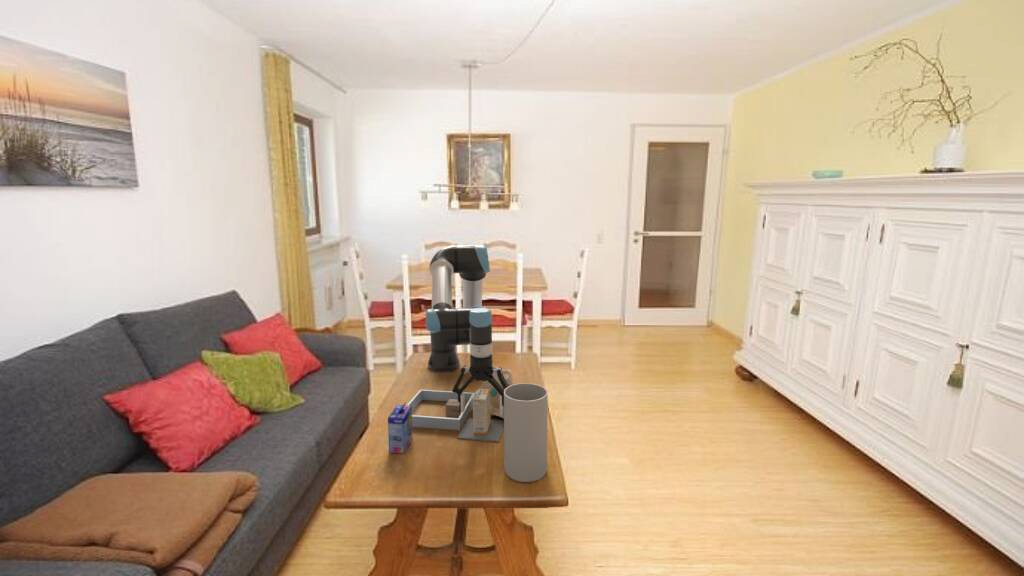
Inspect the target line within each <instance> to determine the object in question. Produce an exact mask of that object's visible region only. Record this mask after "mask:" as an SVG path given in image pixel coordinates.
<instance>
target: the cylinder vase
mask: <svg viewBox="0 0 1024 576" xmlns="http://www.w3.org/2000/svg"><path fill="white" fill-rule="evenodd" d="M548 393H549V392H548V389H547V388H545V387H544V386H543V385H539V384H536V383H529V382H528V383H525V382H523V383H522V382H521V383H515V384H514V383H513V385H511V386H509V387H507V388H506V389H505V390H504V418H503V421H504V428H503V435H504V437H503V439H504V440H503V441H504V442H503V443H504V445H503V446H504V447H503V448H504V452H503V453H504V455H503V456H504V461H503V462H504V463H503V464H504V465H503V466H504V473H505V474H506V476H507V477H508V478H509V479H511V480H513V481H516V482H519V483H532V482H537V481H539V480H541V479H543V477H544V476H545V475H546V473H547V470H548V462H547V461H548V402H549V401H548V398H549V397H548Z"/></svg>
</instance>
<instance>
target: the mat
mask: <svg viewBox="0 0 1024 576" xmlns="http://www.w3.org/2000/svg"><path fill="white" fill-rule="evenodd" d="M490 420H491V423H490V426H489V429H488V432H487V434H474V430H473V417H472V418H471V417H467V419H466V420H465V422H464V424H463V426H462V428H461V430H460V432H459V433H458V434H459V435H458V436H457V440H466V441H467V440H468V441H469V440H470V441H478V442H479V441H481V442H482V441H483V442H494V443H495V442H496V443H499V441H500V439H501V436H502V434H503V432H504V420H498V419H497V420H496V419H490Z"/></svg>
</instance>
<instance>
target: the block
mask: <svg viewBox="0 0 1024 576" xmlns="http://www.w3.org/2000/svg"><path fill="white" fill-rule="evenodd" d="M460 415H461V403H459V402H458V400H456V399H449V401H446V403H445V418H459V416H460Z"/></svg>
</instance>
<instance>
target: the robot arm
mask: <svg viewBox="0 0 1024 576" xmlns="http://www.w3.org/2000/svg"><path fill="white" fill-rule="evenodd" d="M490 271H491V269H490V261H489V253H488V249H487V247H486V245H482V244H481V245H480V244H474V245H466V244H465V245H464V244H463V245H454V244H453V245H448V246H445V247H443V248H441V249H440V250H438V251H437V252H436V253H435V254H433V257H432V258H431V260H430V263H429V273H430V276H431V309H427V310H426V311H425V327H426V330H427V331H429V333H430V353H429V357H428V358H429V359H428V361H427V368H428V369H429V370H431V371H433V372H438V373H440V372H441V373H445V372H451V371H455V370H457V369H459V368H460V366H461V365H460V364H461V363H460V359H459V356H458V353H457V350H456V349H457V347H456V346H469V354H470V355H469V363H470V365H469V367H468V366H466V365H465V364H464V365H462V367H461V369H460V374H459V376H458V378H457V380H456V382H455V384H454V386H453V388H452V390H451V391H452V392H454V393H457V394H458V402H459V403H461V413H463V412H464V410H465V406H466V403H465V392H466V391H465V389H467V387H468V386H470V384H471V383H473V381H474V380H475V381H477V382H484V381H488V382H489V383H491V385H492V386H493V387H494V388H495V389H496V390H497V392H498V393H499V394H500V416H502V414H503V406H504V390H505V389H506V388H507V387H509V385H508V384H507V382H506V380H505V378H506V377H505V376H504V374H502V370H503V369H502V367H501V366H500V367H499V366H498V369H493V366H494V365H493V316H492V315H493V314H492V310H491V309H489V308H487V307H484V306H483V304H482V303H483V279H485V278H486V275H487V274H488V273H490ZM453 274H458V275H459V277H460V278H461V279H462V308H453V287H452V275H453ZM492 365H493V366H492ZM468 372H469V373H470V375H471V376H469V378H467V380H466V382H465V383H464V384H462V386H461V387H459V386H460V385H461V383H462V381H463V379H464V377H465V375H466V374H467V373H468ZM493 373H495V374H496V375H498V379H499V381H500V382H501V384H502V386H503V388H504V389H503V388H502V387H501V386H500V384H499V383H498V382H497V381H496V380H495V379H494V377H493V375H492V374H493Z"/></svg>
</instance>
